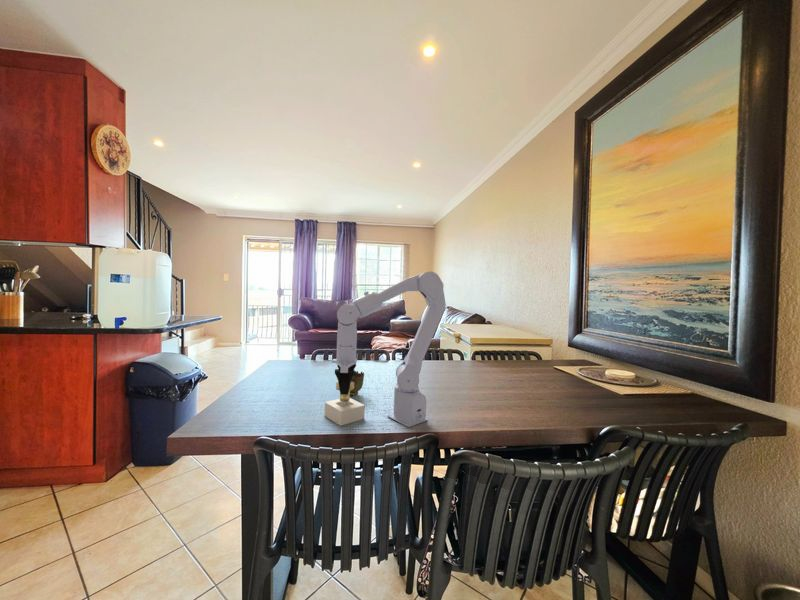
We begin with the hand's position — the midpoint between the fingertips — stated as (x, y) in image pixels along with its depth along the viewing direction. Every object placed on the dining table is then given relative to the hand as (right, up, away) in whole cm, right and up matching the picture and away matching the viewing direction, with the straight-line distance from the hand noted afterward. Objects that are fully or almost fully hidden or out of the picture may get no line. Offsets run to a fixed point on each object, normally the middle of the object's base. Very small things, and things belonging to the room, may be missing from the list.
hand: (345, 390), depth 92 cm
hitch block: (0, -8, 0) cm, 8 cm away
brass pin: (0, -3, 0) cm, 3 cm away
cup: (-1, -7, +20) cm, 21 cm away
